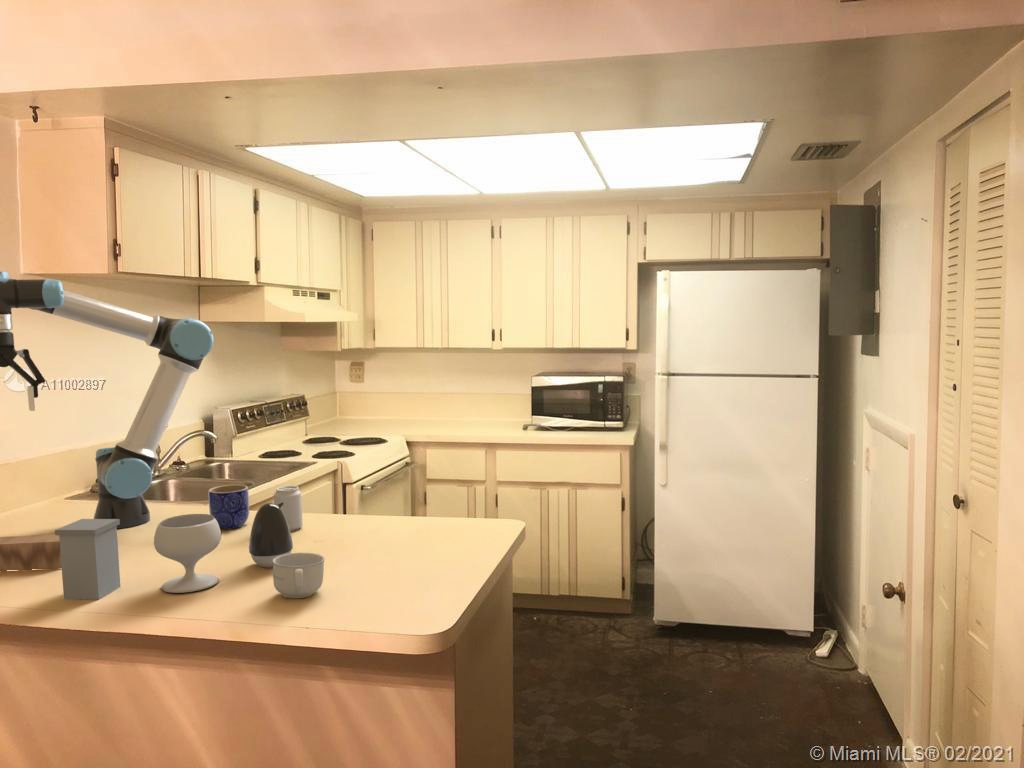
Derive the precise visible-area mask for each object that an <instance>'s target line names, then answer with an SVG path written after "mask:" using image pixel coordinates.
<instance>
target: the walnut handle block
mask: <svg viewBox="0 0 1024 768" xmlns="http://www.w3.org/2000/svg"><path fill="white" fill-rule="evenodd" d="M58 568H62V566H61V553H60V539H59V535H55V533H54V534H37V535H18V536H17V535H13V536H0V571H7V570H32V569H51V570H59V569H58ZM32 571H33V570H32Z"/></svg>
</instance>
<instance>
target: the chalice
mask: <svg viewBox="0 0 1024 768" xmlns="http://www.w3.org/2000/svg"><path fill="white" fill-rule="evenodd" d="M221 540H222V533H221V529H220V527H219V525H218V522H217V521H216V519H215V518H214V516H212V515H210V514H209V513H208V514H207V513H190V514H189V513H188V514H181V515H175V516H171V517H168V518H165V519H163V520H161V521H159V522H158V525H157V526H156V529H155V533H154V537H153V545H154V549H155V551H156V552H157V553H158V554H159V555H160V556H162V557H165V558H166V559H169V560H172V561H175V562H177V563H179V564H180V565H182V566H183V568H184V570H185V572H184V575H182V576H178V577H174V578H172V579H169V580H167V581H166V582H164V583H163V584H162V585H161V587H160V589H161V590H163V592H166V593H172V594H183V593H193V592H198V591H201V590H206V589H208V588H211V587H214V586H215V585H216V584H217V583H219V582H220V578H219V577H218V576H217V575H215V574H209V573H196V571H195V566H196V565H197V563H198V562H199V561H200V560H201V559H203V557H206V556H207V555H208V554H210V553H212V552H213V551H214V550H215V549H216V548H218V546H219V545H220V543H221Z"/></svg>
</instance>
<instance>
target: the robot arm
mask: <svg viewBox="0 0 1024 768" xmlns="http://www.w3.org/2000/svg"><path fill="white" fill-rule="evenodd" d="M12 309H30V310H35V311H40V312H43V313H46V314H50V315H54V316H57V317H61V318H65V319H68V320H71V321H74V322H78V323H81V324H85V325H88V326H91V327H95V328H99V329H102V330H106V331H109V332H113V333H116V334H119V335H122V336H127V337H129V338H132V339H133V338H134V339H137V340H140V341H143V342H145V344H146V345H147V346H149V347H153V348H156V349H157V350H159V352H158V354H157V356H158V359H159V362H160V363H159V365H158V367H157V368H156V369H157V370H156V372H155V374H154V376H153V377H152V380H151V382H150V385H148V386H149V387H148V388H147V391H146V393H145V395H144V397H143V400H142V402H141V404H140V406H139V408H138V411H137V412H136V415H135V417H134V419H133V421H132V423H131V425H130V427H129V430H128V431H127V432H128V433H127V434H126V437H125V438H124V440H122V441H118V442H117V443H116V444H115V445H114V446H112V447H104V448H103V447H102V448H99V449H97V450H96V451H95V459H94V460H95V463H96V464H95V465H96V477H97V492H98V500H97V501H98V502H97V505H96V508H95V512H94V515H93V519H120V524H119V525H117V529H123V528H130V527H135V526H140V525H142V524H145V523H147V522H149V521H150V520H151V512H150V510H149V507H148V505H147V502H146V501H145V498H144V495H143V494H144V493H145V492H146V491H147V490H148V489H149V488H150V486H151V484H152V480H153V471H154V468H155V466H156V464H157V462H158V460H159V456H158V454H157V452H156V451H157V449H158V446H159V443H160V441H161V438H162V436H163V435H164V432H165V430H166V428H167V426H168V424H169V422H170V420H171V417H172V415H173V413H174V411H175V409H176V406H177V404H178V402H179V399H180V398H181V395H182V393H183V390H184V389H185V386H186V384H187V382H188V380H189V377H190V375H192V374H193V373H195V372H198V371H199V369H200V368H201V365H202V363H203V360H204V358H205V357H207V356H208V355H209V353H210V352H211V350H212V349H213V347H214V341H215V340H214V334H213V332H212V330H211V328H210V327H209V326H208V325H207V324H206V323H204V322H203V321H201V320H198V319H197V318H193V317H192V318H191V317H189V318H187V317H186V318H171V317H165V316H161V315H159V314H156V315H154V316H152V315H147V314H144V313H140V312H138V311H135V310H130V309H128V308H124V307H122V306H117V305H115V304H112V303H107V302H105V301H100V300H97V299H94V298H91V297H87V296H84V295H81V294H78V293H75V292H71V291H67V290H65V289H64V287H63V283H62V282H61V280H59V279H50V278H45V279H38V278H36V279H14V278H10V274H9V273H8V272H7V271H3V270H2V271H1V270H0V367H1V368H7V367H10V368H12V369H13V370H14V371H15V372H16V373H17V374H18V375H20V377H21V378H22V379H24V380H25V382H26V383H27V382H28V384H29V385H27V399H28V400H27V401H28V410H29V411H31V412H34V411H36V409H35V408H36V405H35V404H36V403H35V399H36V398H38V397H39V387H38V386H39V385H41V384H44V383H45V382H46V379H45V377H44V376H43V374H42V373H41V372H40V370H39V368H38V367H37V366H36V364H35V362H34V361H33V359H32V358H31V355H30V351H29V349H27V348H22V349H20V350H16V348H15V339H14V337H15V336H14V333H13V332H12V330H14V328H13V327H14V325H13V314H12ZM17 355H18V356H19V358H21V359H23V361H24V363H25V364H26V365H27V367H28V369H29V370H30V372H31V373H32V375H33V376H34V377H32V376H31V375H30V374H29V373H27V371H26V370H24V369H23V368H22V367H21V366H20V365H19V364H18V363H17V362H16V361H15V358H16V357H17ZM34 378H35V379H34Z"/></svg>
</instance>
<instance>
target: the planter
mask: <svg viewBox="0 0 1024 768" xmlns="http://www.w3.org/2000/svg"><path fill="white" fill-rule="evenodd" d="M207 495H208V496H207V497H208V510H209V515H212V516H214V518H215V519H216V521H217V522H218V525H219V527H220V530H233V529H237V528H241V527H242V526H244V525H245V524H246V523H247V521H248V519H249V516H250V500H249V498H250V497H249V487H248V486H247V485H246V484H245V485H244V484H224V485H220V486H215V487H212V488H211V487H210V488H209V489H208V494H207Z"/></svg>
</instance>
